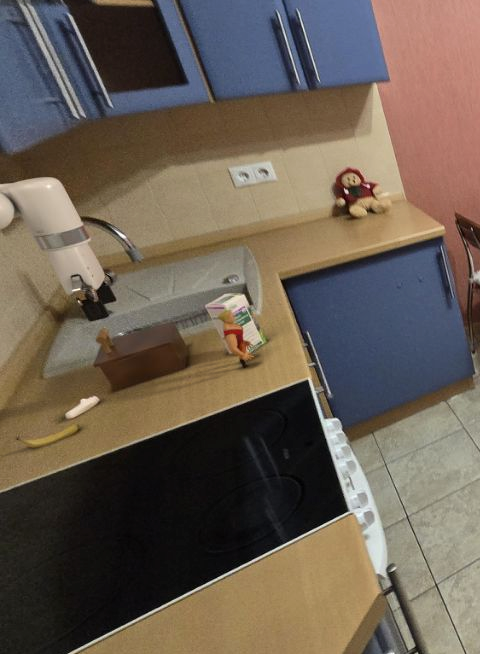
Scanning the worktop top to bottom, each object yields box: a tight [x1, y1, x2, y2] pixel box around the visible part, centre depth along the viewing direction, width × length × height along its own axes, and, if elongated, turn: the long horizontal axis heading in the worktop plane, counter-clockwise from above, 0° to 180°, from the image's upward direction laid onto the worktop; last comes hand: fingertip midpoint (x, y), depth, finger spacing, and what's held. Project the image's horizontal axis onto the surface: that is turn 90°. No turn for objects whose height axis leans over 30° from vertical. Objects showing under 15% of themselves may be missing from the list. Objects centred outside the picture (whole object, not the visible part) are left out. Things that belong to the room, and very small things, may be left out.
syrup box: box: [204, 292, 267, 355], centre depth 129 cm, size 6×6×14 cm
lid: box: [92, 321, 176, 369], centre depth 123 cm, size 13×13×5 cm
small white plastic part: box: [65, 395, 101, 420], centre depth 113 cm, size 4×6×3 cm, turn 129°
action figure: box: [218, 310, 255, 369], centre depth 123 cm, size 10×4×15 cm, turn 35°
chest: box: [99, 324, 189, 392], centre depth 126 cm, size 13×13×7 cm
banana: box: [14, 424, 80, 449], centre depth 104 cm, size 8×2×4 cm, turn 133°
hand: (103, 310), depth 117 cm, fingers open, 9 cm apart
